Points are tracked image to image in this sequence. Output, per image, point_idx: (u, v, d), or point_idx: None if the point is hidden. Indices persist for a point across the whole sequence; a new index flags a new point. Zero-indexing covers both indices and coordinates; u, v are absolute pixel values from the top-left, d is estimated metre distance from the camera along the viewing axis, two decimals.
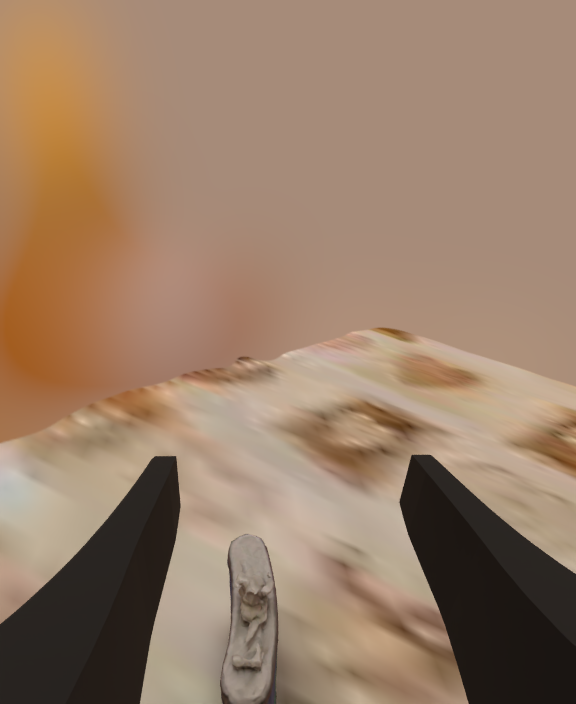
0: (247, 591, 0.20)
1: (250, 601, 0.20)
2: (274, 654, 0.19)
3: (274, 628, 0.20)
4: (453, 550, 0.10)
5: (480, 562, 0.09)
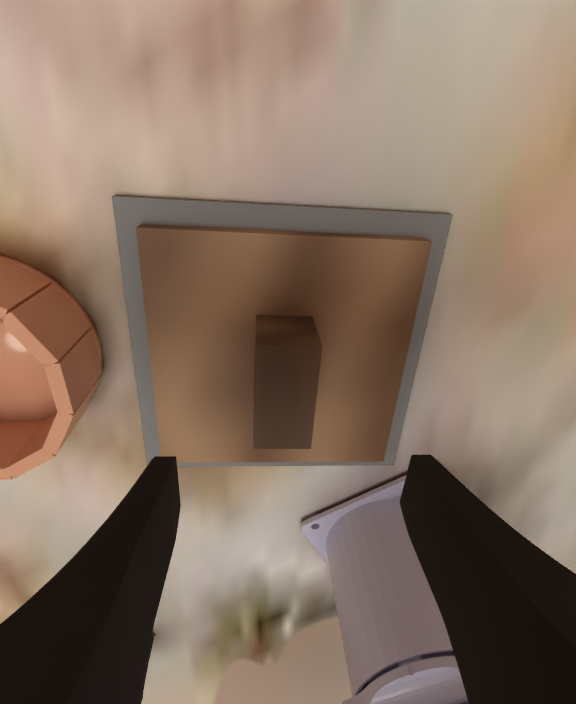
0: None
1: None
2: None
3: None
4: (453, 550, 0.10)
5: (480, 562, 0.09)
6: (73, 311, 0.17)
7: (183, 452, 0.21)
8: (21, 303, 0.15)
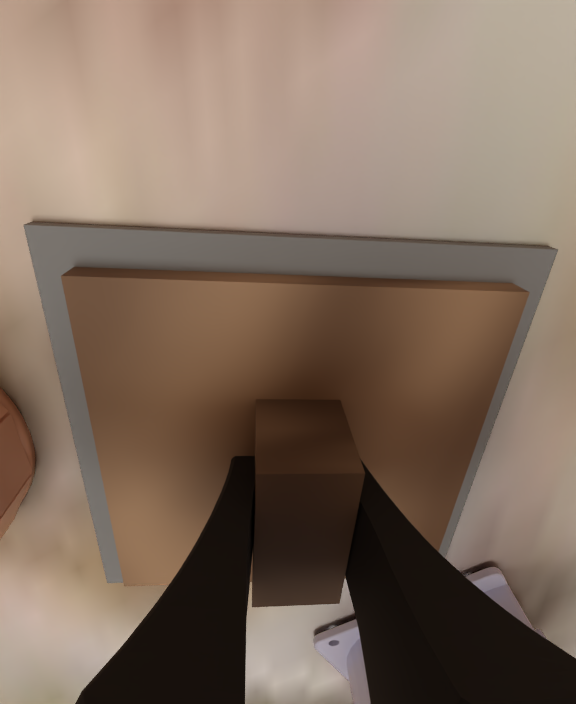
0: None
1: None
2: None
3: None
4: (363, 553, 0.10)
5: (379, 565, 0.09)
6: None
7: (154, 573, 0.15)
8: None
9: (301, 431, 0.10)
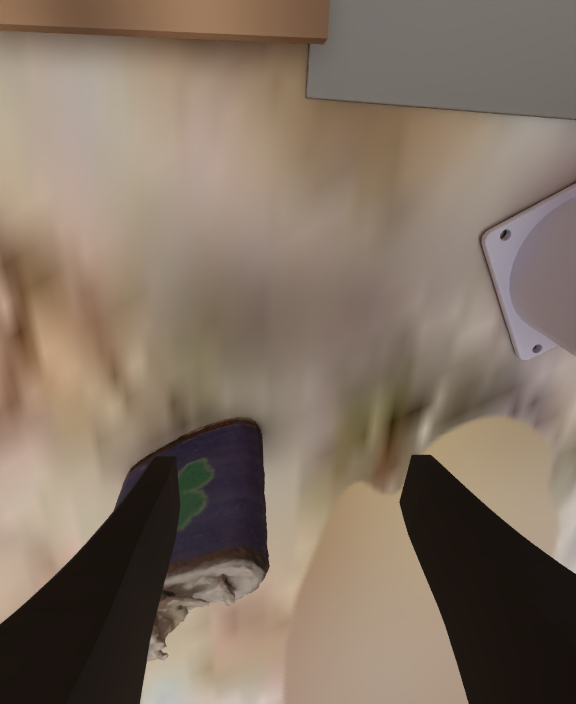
0: None
1: (169, 628, 0.15)
2: (198, 565, 0.16)
3: (173, 578, 0.16)
4: (454, 550, 0.10)
5: (480, 562, 0.09)
6: None
7: None
8: None
9: None
